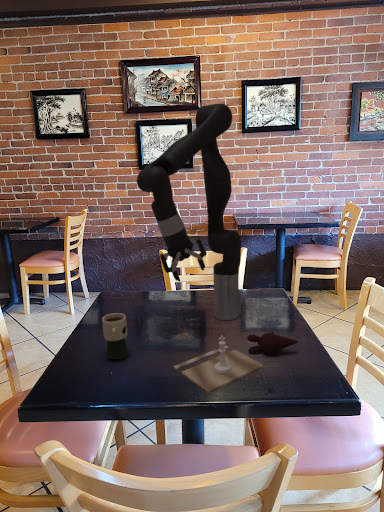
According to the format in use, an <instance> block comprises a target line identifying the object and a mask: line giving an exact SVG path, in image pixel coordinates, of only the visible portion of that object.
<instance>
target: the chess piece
mask: <svg viewBox="0 0 384 512" xmlns="http://www.w3.org/2000/svg"><path fill="white" fill-rule="evenodd" d="M218 340H219V341H218V345H219V348H220V349H219V350H218V351H219V352H218V353H220V354H219V356H220V362H218V363H216V364H215V365H214V370H215V371H216V372H219V373H226V372H229V371H230V370H231V365H230V364H229V363H227V362H225V356H224V354H225V353H227V352H226V351H227V349H225V348H224V347H225V346H226V341H225V340H226V337H224V336H223V335H220V337H218Z"/></svg>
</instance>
